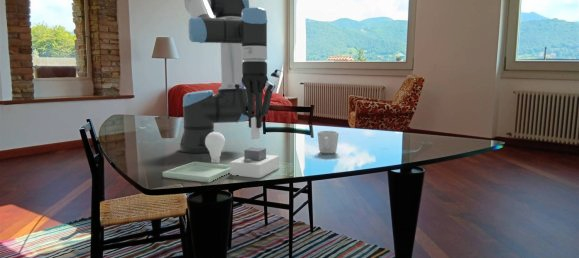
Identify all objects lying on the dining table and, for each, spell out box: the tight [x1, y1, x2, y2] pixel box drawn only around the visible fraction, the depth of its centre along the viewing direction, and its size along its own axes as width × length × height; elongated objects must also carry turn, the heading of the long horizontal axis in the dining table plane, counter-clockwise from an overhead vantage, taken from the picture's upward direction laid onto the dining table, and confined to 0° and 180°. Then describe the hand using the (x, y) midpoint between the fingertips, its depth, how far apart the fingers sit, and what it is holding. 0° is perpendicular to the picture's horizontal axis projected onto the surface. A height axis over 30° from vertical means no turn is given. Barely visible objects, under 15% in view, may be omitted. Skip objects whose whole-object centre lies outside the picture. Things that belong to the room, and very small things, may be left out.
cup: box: [317, 130, 339, 155], centre depth 160 cm, size 11×8×8 cm
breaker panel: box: [229, 154, 280, 179], centre depth 131 cm, size 10×14×5 cm
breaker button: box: [243, 147, 267, 161], centre depth 131 cm, size 5×5×4 cm
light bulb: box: [205, 131, 226, 164], centre depth 141 cm, size 7×7×11 cm
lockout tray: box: [162, 161, 230, 183], centre depth 128 cm, size 16×16×2 cm
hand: (255, 138), depth 130 cm, fingers closed
